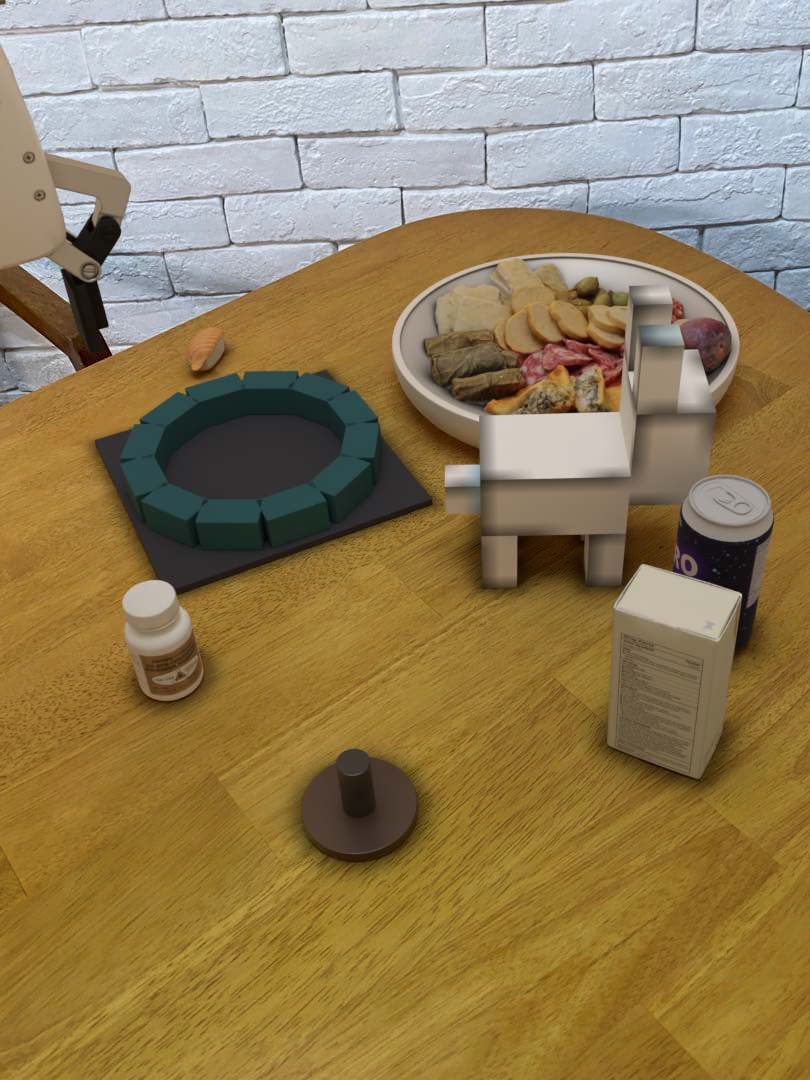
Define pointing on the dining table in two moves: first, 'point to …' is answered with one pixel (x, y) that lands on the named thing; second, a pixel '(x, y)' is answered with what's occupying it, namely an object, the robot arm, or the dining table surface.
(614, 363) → the bowl
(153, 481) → the ring
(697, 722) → the cosmetic box
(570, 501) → the toy llama
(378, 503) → the mat
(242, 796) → the dining table surface
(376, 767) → the ring stand
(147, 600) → the pill bottle
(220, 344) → the sushi
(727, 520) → the beverage can
